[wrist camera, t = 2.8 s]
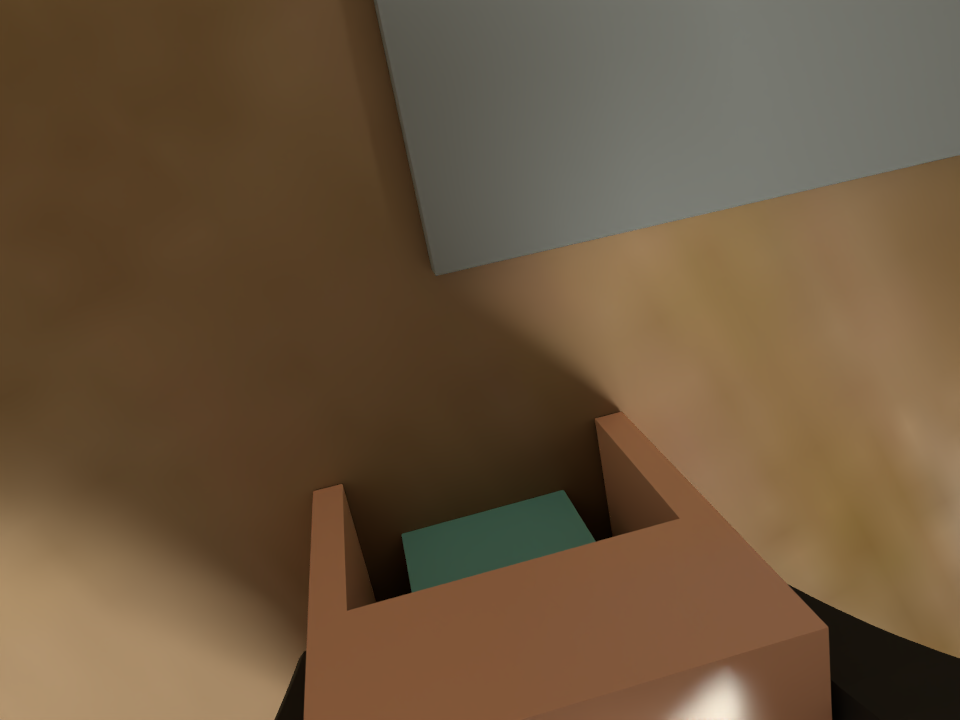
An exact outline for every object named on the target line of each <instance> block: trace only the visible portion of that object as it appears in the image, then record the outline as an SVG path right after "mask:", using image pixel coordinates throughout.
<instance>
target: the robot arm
mask: <svg viewBox="0 0 960 720" xmlns="http://www.w3.org/2000/svg"><path fill="white" fill-rule="evenodd" d="M788 586H789V587H790V588H791V589H792V590H793V591H794V592H795V593H796V594H797V595H798V596H799V597H800V598H801V599H802V600H803V601H804V602H805V603H806V604H807V605H808V606H809V607H810V608H811V609H812V611H813V612H814V613H815V614H816V615H817V616H818V617H819V618H820V619H821V620H822V621H823V622H824V623H825V624H826V625H827V626H828V629H829V655H830V680H831V706H832V720H960V658H957V657H954V656H951V655H948V654H945V653H942V652H939V651H936V650H934V649H931V648H929V647H926V646H923V645H921V644H918V643H915V642H913V641H910V640H907V639H905V638H902V637H899V636H897V635H894V634H892V633H890V632H887V631H885V630H882V629H880V628H878V627H875V626H873V625H871V624H868V623H866V622H864V621H862V620H860V619H857V618H855V617H853V616H851V615H849V614H847V613H844V612H842V611H840V610H838V609H836V608H834V607H832V606H830V605H827V604H825V603H823V602H821V601H819V600H817V599H815V598H813V597H811V596H809V595H807V594H805V593H804V592H802V591H800V590H798V589H796V588H794V587H792V586H790V585H788ZM305 674H306V651H304V652H303V654H302V655H301V657H300V658H299V661H298V663H297V666H296V669H295V671H294V674H293V676H292V679H291V681H290V684H289V687H288V689H287V691H286V694H285V696H284V699H283V701H282V703H281V706H280V708H279V710H278V713H277V715H276V717H275V720H304V698H305Z"/></svg>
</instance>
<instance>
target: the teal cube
mask: <svg viewBox="0 0 960 720" xmlns="http://www.w3.org/2000/svg"><path fill="white" fill-rule="evenodd" d="M402 540H403V546H404V551H405V557H406V563H407V568H408V574H409V580H410V585H411V591H412V593H413V592H416V591H420V590H424V589H427V588H431V587H435V586H438V585H442V584H445V583H449V582H453V581H456V580H460V579H463V578H467V577H471V576H474V575H478V574H481V573H485V572H489V571H492V570H496V569H499V568H503V567H507V566H510V565H514V564H517V563H521V562H525V561H528V560H532V559H535V558H539V557H543V556H546V555H550V554H554V553H557V552H561V551H564V550H568V549H572V548H575V547H579V546H582V545H586V544H590V543H593V542H596V541H595V540H594V538H593V536H592V535H591V533H590V532H589V530H588V528H587V527H586V525H585V523H584V522H583V520H582V519H581V517H580V515H579V514H578V512H577V511H576V509H575V507H574V506H573V504H572V503H571V501H570V499H569V498H568V496H567V494H566V493H565V491H564V490H561V491H557V492H553V493H550V494H546V495H542V496H539V497H535V498H531V499H528V500H524V501H520V502H517V503H513V504H509V505H506V506H502V507H498V508H495V509H491V510H487V511H484V512H480V513H476V514H473V515H469V516H465V517H462V518H458V519H454V520H451V521H447V522H443V523H440V524H436V525H432V526H429V527H425V528H421V529H418V530H414V531H410V532H407V533H403V534H402Z"/></svg>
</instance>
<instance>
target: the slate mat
mask: <svg viewBox="0 0 960 720" xmlns="http://www.w3.org/2000/svg"><path fill="white" fill-rule="evenodd" d="M374 4H375V9H376V13H377V18H378V23H379V27H380V32H381V37H382V41H383V46H384V50H385V55H386V60H387V64H388V69H389V74H390V78H391V83H392V87H393V92H394V97H395V101H396V106H397V111H398V115H399V120H400V125H401V129H402V134H403V138H404V143H405V148H406V152H407V157H408V162H409V166H410V171H411V175H412V180H413V185H414V189H415V194H416V199H417V203H418V208H419V212H420V217H421V222H422V226H423V231H424V236H425V240H426V245H427V249H428V254H429V259H430V263H431V268H432V271H433V272H434V274H435V275H436V276H438V275H442V274H447V273H451V272H455V271H460V270H464V269H468V268H473V267H477V266H481V265H486V264H490V263H494V262H499V261H503V260H507V259H512V258H516V257H520V256H525V255H529V254H533V253H538V252H542V251H546V250H551V249H555V248H559V247H564V246H568V245H572V244H577V243H581V242H585V241H590V240H594V239H598V238H603V237H607V236H611V235H615V234H620V233H624V232H628V231H633V230H637V229H641V228H646V227H650V226H654V225H659V224H663V223H667V222H672V221H676V220H680V219H685V218H689V217H693V216H698V215H702V214H706V213H711V212H715V211H719V210H724V209H728V208H732V207H737V206H741V205H745V204H750V203H754V202H758V201H763V200H767V199H771V198H776V197H780V196H784V195H789V194H793V193H797V192H802V191H806V190H810V189H815V188H819V187H823V186H828V185H832V184H836V183H841V182H845V181H849V180H854V179H858V178H862V177H867V176H871V175H875V174H880V173H884V172H888V171H893V170H897V169H901V168H906V167H910V166H914V165H919V164H923V163H927V162H932V161H936V160H940V159H945V158H949V157H953V156H958V155H960V0H374Z"/></svg>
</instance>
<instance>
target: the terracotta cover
mask: <svg viewBox="0 0 960 720" xmlns="http://www.w3.org/2000/svg"><path fill="white" fill-rule="evenodd" d="M595 423H596V430H597V436H598V443H599V449H600V456H601V463H602V469H603V476H604V483H605V489H606V496H607V502H608V509H609V516H610V522H611V529H612V536H613V537H611V538H608V539H604V540H600V541H597V542H593V543H590V544H586V545H582V546H579V547H575V548H572V549H568V550H564V551H561V552H557V553H554V554H550V555H546V556H543V557H539V558H535V559H532V560H528V561H525V562H521V563H517V564H514V565H510V566H507V567H503V568H499V569H496V570H492V571H489V572H485V573H481V574H478V575H474V576H471V577H467V578H463V579H460V580H456V581H453V582H449V583H445V584H442V585H438V586H435V587H431V588H427V589H424V590H420V591H416V592H413V593H409V594H406V595H402V596H398V597H395V598H391V599H388V600H384V601H380V602H377V603H376V600H375V596H374V593H373V589H372V586H371V582H370V579H369V575H368V572H367V568H366V565H365V561H364V558H363V554H362V551H361V547H360V544H359V540H358V537H357V533H356V530H355V526H354V523H353V519H352V516H351V512H350V509H349V505H348V502H347V498H346V495H345V491H344V488H343V484H339V485H336V486H332V487H328V488H324V489H320V490H316V491H313V504H312V528H311V553H310V577H309V601H308V625H307V649H306V674H305V698H304V720H832V706H831V680H830V655H829V629H828V626H827V625H826V624H825V623H824V622H823V621H822V620H821V619H820V618H819V617H818V616H817V615H816V614H815V613H814V612H813V611H812V609H811V608H810V607H809V606H808V605H807V604H806V603H805V602H804V601H803V600H802V599H801V598H800V597H799V596H798V595H797V594H796V593H795V592H794V591H793V590H792V589H791V588H790V587H789V586H788V584H787V583H786V582H785V581H784V580H783V579H782V578H781V577H780V576H779V575H778V574H777V573H776V572H775V571H774V570H773V569H772V568H771V567H770V566H769V565H768V564H767V563H766V562H765V560H764V559H763V558H762V557H761V556H760V555H759V554H758V553H757V552H756V551H755V550H754V549H753V548H752V547H751V546H750V545H749V544H748V543H747V542H746V541H745V540H744V539H743V538H742V536H741V535H740V534H739V533H738V532H737V531H736V530H735V529H734V528H733V527H732V526H731V525H730V524H729V523H728V522H727V521H726V520H725V519H724V518H723V517H722V516H721V515H720V514H719V513H718V511H717V510H716V509H715V508H714V507H713V506H712V505H711V504H710V503H709V502H708V501H707V500H706V499H705V498H704V497H703V496H702V495H701V494H700V493H699V492H698V491H697V490H696V489H695V487H694V486H693V485H692V484H691V483H690V482H689V481H688V480H687V479H686V478H685V477H684V476H683V475H682V474H681V473H680V472H679V471H678V470H677V469H676V468H675V467H674V466H673V465H672V463H671V462H670V461H669V460H668V459H667V458H666V457H665V456H664V455H663V454H662V453H661V452H660V451H659V450H658V449H657V448H656V447H655V446H654V445H653V444H652V443H651V442H650V441H649V440H648V438H647V437H646V436H645V435H644V434H643V433H642V432H641V431H640V430H639V429H638V428H637V427H636V426H635V425H634V424H633V423H632V422H631V421H630V420H629V419H628V418H627V417H626V416H625V414H624V413H623V412H618V413H614V414H610V415H607V416H603V417H599V418H595Z"/></svg>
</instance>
